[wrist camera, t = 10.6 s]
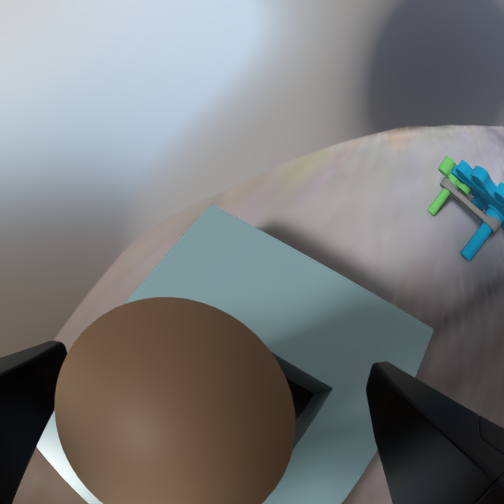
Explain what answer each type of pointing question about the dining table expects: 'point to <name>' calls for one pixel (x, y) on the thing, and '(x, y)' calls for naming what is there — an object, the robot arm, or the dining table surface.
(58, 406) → the peg
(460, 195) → the gear
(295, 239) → the dining table surface
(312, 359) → the housing
